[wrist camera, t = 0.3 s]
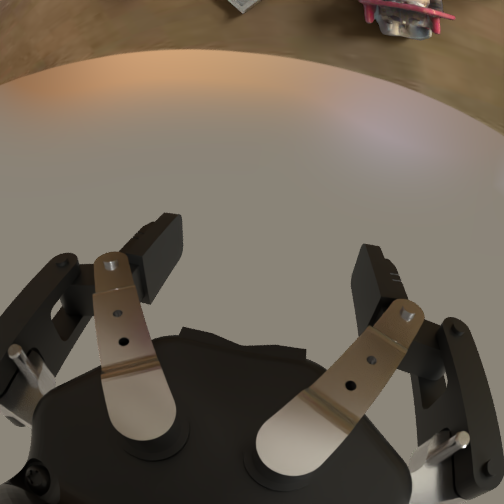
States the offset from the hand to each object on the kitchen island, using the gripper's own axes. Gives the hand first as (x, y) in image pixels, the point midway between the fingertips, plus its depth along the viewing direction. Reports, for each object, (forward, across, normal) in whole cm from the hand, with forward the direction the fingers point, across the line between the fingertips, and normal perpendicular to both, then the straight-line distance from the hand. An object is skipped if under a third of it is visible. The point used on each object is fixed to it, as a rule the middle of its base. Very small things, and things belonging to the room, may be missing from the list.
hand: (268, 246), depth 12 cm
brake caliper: (+25, -11, -22) cm, 35 cm away
